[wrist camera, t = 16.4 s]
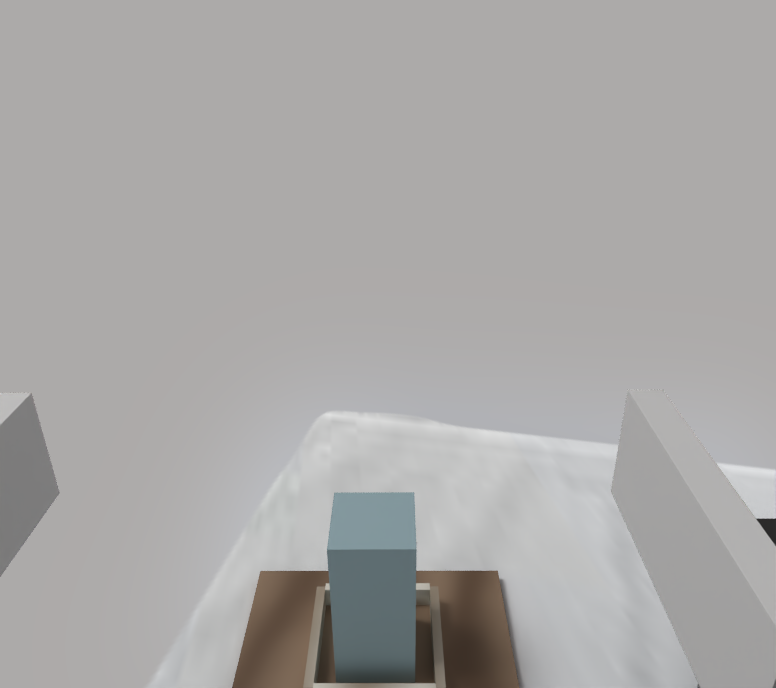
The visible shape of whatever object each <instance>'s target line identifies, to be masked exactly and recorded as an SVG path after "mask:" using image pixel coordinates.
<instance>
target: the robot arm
mask: <svg viewBox="0 0 776 688" xmlns="http://www.w3.org/2000/svg"><path fill="white" fill-rule="evenodd" d="M611 492H612V495H613V497H614V499H615V501H616V503H617V506H618V508H619V510H620V512H621V514H622V517H623V519H624V521H625V523H626V525H627V528H628V530H629V532H630V534H631V536H632V539H633V541H634V543H635V545H636V547H637V550H638V552H639V554H640V556H641V558H642V561H643V563H644V565H645V567H646V569H647V572H648V574H649V576H650V578H651V580H652V582H653V585H654V587H655V589H656V591H657V593H658V596H659V598H660V600H661V602H662V604H663V607H664V609H665V611H666V613H667V615H668V618H669V620H670V622H671V624H672V626H673V629H674V631H675V633H676V635H677V637H678V640H679V642H680V644H681V646H682V648H683V651H684V653H685V655H686V657H687V659H688V662H689V664H690V666H691V668H692V670H693V673H694V675H695V677H696V679H697V681H698V688H776V519H756V518H755V517H754V515H753V514H752V513H751V511H750V510H749V508H748V507H747V506H746V504H745V503H744V501H743V500H742V499H741V497H740V496H739V494H738V493H737V492H736V490H735V489H734V488H733V486H732V485H731V483H730V482H729V481H728V479H727V478H726V476H725V475H724V474H723V472H722V471H721V469H720V468H719V467H718V465H717V464H716V463H715V461H714V460H713V458H712V457H711V456H710V454H709V453H708V452H707V450H706V449H705V447H704V446H703V445H702V443H701V442H700V440H699V439H698V438H697V437H696V435H695V434H694V432H693V431H692V429H691V428H690V426H689V425H688V424H687V422H686V421H685V420H684V418H683V417H682V415H681V414H680V413H679V411H678V410H677V408H676V407H675V406H674V404H673V403H672V401H671V400H670V399H669V397H668V396H667V394H666V393H665V392H664V390H628V392H627V398H626V404H625V410H624V416H623V422H622V428H621V434H620V440H619V446H618V452H617V458H616V464H615V470H614V476H613V482H612V488H611ZM58 494H59V489H58V486H57V482H56V479H55V475H54V471H53V468H52V464H51V461H50V457H49V454H48V450H47V447H46V443H45V439H44V436H43V432H42V429H41V425H40V422H39V418H38V414H37V411H36V408H35V404H34V400H33V397H32V393H0V577H1V575H2V574H3V572H4V571H5V570H6V568H7V567H8V565H9V564H10V562H11V561H12V559H13V558H14V557H15V555H16V554H17V552H18V551H19V550H20V548H21V547H22V545H23V544H24V543H25V541H26V540H27V538H28V537H29V536H30V534H31V533H32V531H33V530H34V528H35V527H36V526H37V524H38V523H39V521H40V520H41V518H42V517H43V516H44V514H45V513H46V511H47V510H48V508H49V507H50V506H51V504H52V503H53V502H54V500H55V499H56V497H57V496H58Z"/></svg>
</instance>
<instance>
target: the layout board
mask: <svg viewBox="0 0 776 688" xmlns="http://www.w3.org/2000/svg"><path fill="white" fill-rule="evenodd" d="M232 688H519V683H518V678H517V673H516V667H515V662H514V656H513V651H512V646H511V640H510V635H509V629H508V624H507V619H506V613H505V608H504V602H503V597H502V592H501V586H500V581H499V575H498V571H416V645H415V683H336V675H335V660H334V645H333V630H332V615H331V600H330V585H329V571H261V572H260V576H259V580H258V584H257V588H256V592H255V596H254V600H253V604H252V609H251V613H250V617H249V621H248V625H247V629H246V633H245V637H244V641H243V646H242V650H241V654H240V658H239V662H238V666H237V670H236V674H235V678H234V683H233V687H232Z"/></svg>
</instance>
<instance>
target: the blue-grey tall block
mask: <svg viewBox="0 0 776 688" xmlns="http://www.w3.org/2000/svg"><path fill="white" fill-rule="evenodd" d="M327 555H328V570H329V585H330V600H331V615H332V630H333V645H334V660H335V675H336V683H415V645H416V527H415V502H414V493H334V500H333V508H332V515H331V523H330V531H329V539H328V547H327Z"/></svg>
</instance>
